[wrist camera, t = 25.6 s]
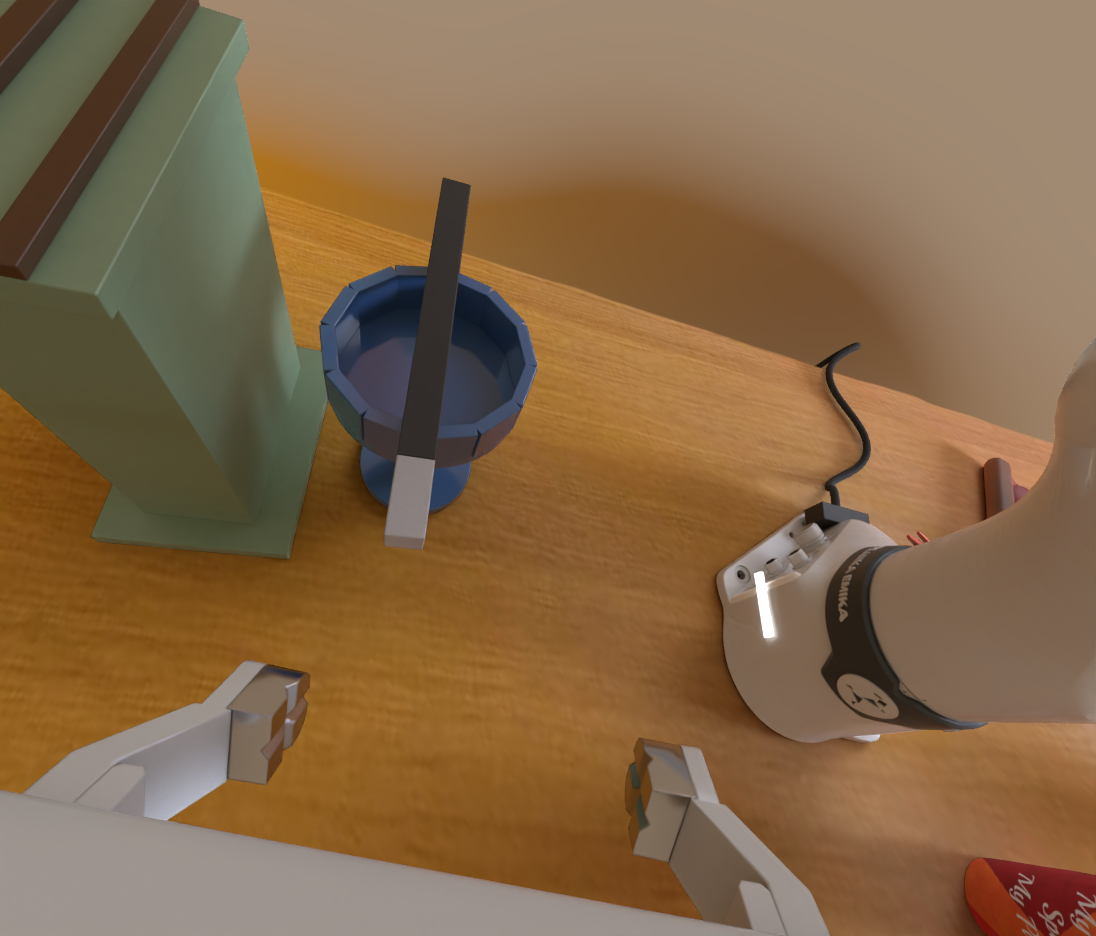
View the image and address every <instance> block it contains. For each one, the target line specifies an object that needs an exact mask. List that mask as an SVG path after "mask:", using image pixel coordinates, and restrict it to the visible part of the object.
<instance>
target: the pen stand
mask: <svg viewBox="0 0 1096 936" xmlns="http://www.w3.org/2000/svg"><path fill="white" fill-rule="evenodd" d="M199 5H200V4H199V0H0V387H1V388H2V389H3V390H4V391H6V392H7V393H8V394H9V395H10V396H11V397H12V398H14V399H15V400H16V401H17V402H18V403H19V404H20V405H22V406H23V407H24V408H25V409H26V410H27V411H29V412H30V413H31V414H32V415H33V416H34V417H35V418H37V419H38V420H39V421H40V422H41V423H42V424H43V425H45V426H46V427H47V428H48V429H49V430H50V431H52V432H53V433H54V434H55V435H56V436H57V437H58V438H60V439H61V440H62V441H63V442H64V443H65V444H66V445H68V446H69V447H70V448H71V449H72V450H73V451H75V452H76V453H77V454H78V455H79V456H80V457H81V458H83V459H84V460H85V461H86V462H87V463H88V464H89V465H91V466H92V467H93V468H94V469H95V470H96V471H98V472H99V473H100V474H101V475H102V476H103V477H104V478H106V479H107V480H108V481H109V482H110V483H111V484H112V487H111V489H110V492H109V494H108V496H107V499H106V501H105V503H104V506H103V508H102V510H101V513H100V515H99V517H98V520H97V522H96V524H95V527H94V529H93V531H92V534H91V537H92V538H94V539H95V540H97V541H98V542H107V543H118V544H129V545H140V546H150V547H161V548H172V549H183V550H193V551H204V552H215V553H226V554H237V555H247V556H258V557H269V558H280V559H289V557H290V553H291V549H292V545H293V541H294V537H295V533H296V529H297V525H298V521H299V517H300V513H301V509H302V505H303V501H304V497H305V492H306V488H307V484H308V480H309V476H310V472H311V468H312V464H313V460H314V456H315V452H316V448H317V444H318V440H319V436H320V432H321V428H322V424H323V420H324V416H325V412H326V408H327V404H328V398H327V392H326V386H325V379H324V373H323V364H322V352H321V351H318V350H313V349H308V348H302V347H297V346H296V345H295V341H294V336H293V332H292V327H291V323H290V318H289V314H288V309H287V305H286V301H285V296H284V292H283V287H282V283H281V278H280V274H279V269H278V265H277V261H276V256H275V252H274V247H273V243H272V238H271V234H270V229H269V225H268V221H267V216H266V212H265V207H264V203H263V198H262V194H261V189H260V185H259V181H258V176H257V172H256V167H255V163H254V158H253V154H252V150H251V145H250V141H249V136H248V132H247V127H246V123H245V118H244V114H243V109H242V105H241V101H240V96H239V92H238V87H237V83H236V78H235V77H236V75H237V73H238V71H239V69H240V67H241V65H242V63H243V61H244V59H245V57H246V55H247V53H248V51H249V45H248V40H247V34H246V29H245V24H244V21H243V20H242V19H239V18H236V17H233V16H229V15H227V14H223V13H220V12H217V11H214V10H211V9H208V8H205V7H201V6H199Z"/></svg>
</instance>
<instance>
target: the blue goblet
mask: <svg viewBox="0 0 1096 936" xmlns="http://www.w3.org/2000/svg"><path fill="white" fill-rule="evenodd" d="M427 270H428V267H425V266H400V265H395V270H394V268H393V267H391V266H390V267H388V268H385V269H383V270H381V271H378V272H376V273H373V274H371V275H369V276H366V277H364V278H361V279H359V280H356V281H354V282H352V283H349V287H347V286H345V287H344V289H343V290H342V292H341V293H340V294H339V296H338V297H337V299H336V300H335V302H334V303H333V304H332V306H331V307H330V309H329V310H328V312H327V313H326V314H325V316H324V317H323V319H322V320H321V325H320V326H319V328H320V340H321V352H322V364H323V373H324V379H325V386H326V392H327V398H328V400H329V401H330V404H331V406H332V408H333V410H334V412H335V414H336V416H337V418H338V420H339V421H340V423H341V424H342V425H343V427H344V428H345V430H346V431H347V432H348V433H349V434H350V435H351V436H352V437H353V438H354V439H355V440H356V441H357V442H359V443H360V444H361V445H362V450H361V454H360V471H361V477H362V480H363V483H364V485H365V487H366V489H367V490H368V492H369V493H370V494H371V496H372V497H373V498H374V499H375V500H376V501H378V502H379V503H380V504H381V505H383V506H384V507H386V508H388V505H389V499H390V493H391V487H392V481H393V475H394V469H395V463H396V457H397V451H398V445H399V439H400V433H401V427H402V421H403V415H404V409H405V403H406V397H407V390H408V384H409V378H410V372H411V366H412V360H413V354H414V348H415V342H416V336H417V330H418V324H419V318H420V312H421V306H422V300H423V294H424V288H425V282H426V276H427ZM491 290H492V287H490V286H487V285H485V284H483V283H480V282H478V281H476V280H474V279H471V278H469V277H467V276H465V275H462V274H460V273H459V280H458V288H457V296H456V304H455V311H454V319H453V327H452V335H451V343H450V350H449V358H448V366H447V374H446V381H445V389H444V397H443V405H442V413H441V420H440V428H439V436H438V444H437V451H436V459H435V467H434V475H433V482H432V490H431V498H430V506H429V514H432V513H435V512H438V511H440V510H442V509H444V508H446V507H448V506H449V505H451V504H452V503H453V502H454V501H455V500H456V499H457V498H458V497H459V496H460V495H461V493H462V492H463V490H464V488H465V486H466V484H467V481H468V478H469V475H470V470H471V461H474V460H476V459H478V458H480V457H482V456H484V455H485V454H487V453H489V452H490V451H491V450H493V449H494V448H495V447H496V446H497V445H499V443H500V442H501V441H502V440H503V439H504V438H505V437H506V436H507V435H508V434H509V433H510V431H511V430H512V429H513V427H514V425H515V423H516V421H517V418H518V416H519V414H520V412H521V410H522V408H523V405H524V403H525V400H526V398H527V395H528V392H529V390H530V387H531V384H532V382H533V379H534V376H535V374H536V371H537V368H536V367H537V361H536V357H535V354H534V350H533V346H532V342H531V338H530V335H529V331H528V327H527V326H526V325H525V322H524V320H523V319H522V318H521V317H520V316H519V315H518V314H517V313H516V312H515V311H514V310H513V309H512V308H511V307H510V306H509V304H508V303H507V302H506V301H505V300H504V299H503V298H502V297H501V296H500V295H499V294H498V293H497V292H496V291H495V290H494V291H492V292H491Z"/></svg>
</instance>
